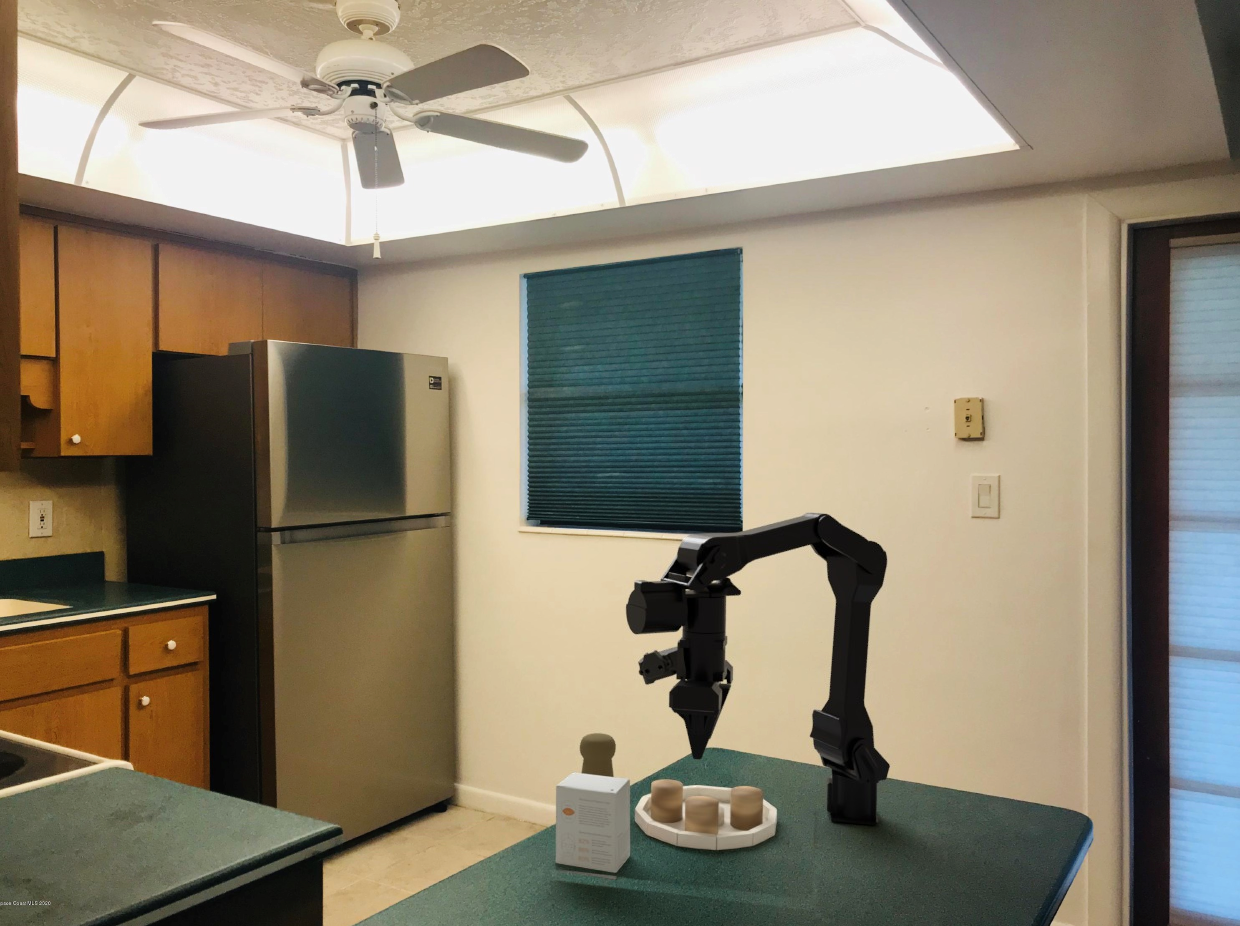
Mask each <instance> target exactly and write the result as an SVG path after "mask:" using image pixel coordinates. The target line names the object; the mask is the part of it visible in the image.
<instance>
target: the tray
mask: <svg viewBox="0 0 1240 926" xmlns="http://www.w3.org/2000/svg"><path fill="white" fill-rule="evenodd" d="M731 789H732V788H731V787H722V786H710V785H696V784H694V785H683V816H682V820H680V821H678V822H674V823H662V822H657V821H655V820H653V819H652V818H651V792H650V793H648V794H645V795H643V796H641V798H640V800H639V801H638V803H637V805H636V807H635V808H634V821H635V823H636V824H637V826H639V828H640V829H641V830H642V831H643V832H644V834H645V835H647V836H648V837H652V838H655V839H657V840H660V841H661V842H665V843H667V844H669V845H670V844H671V845H673V846H677V847H683V848H691V849H700V850H712V851H719V850H730V849H732V850H733V849H740V848H741V849H742V848H747V847H753V846H756V845H758V844H760V843H763V842H765V841H767V840H768V839H769V838H772V837H774V836H775V835H776V830H777V822H778V810H777V808H776V807H775V806H773V804H770V803H769V802H768V801H767V800H765V799H764V798H763V824H761V825H759V826H757V827H755V828H753V829H751V830H748V831H743V830H738V829H735V828H733V827H732V826H731V825H730V799H731ZM693 796H706V797H711V798H714V799H716V800H718V802H719V818H718V834H708V833H698V832H688V831H685V800H686V799H687V798H689V797H693Z"/></svg>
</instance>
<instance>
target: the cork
mask: <svg viewBox="0 0 1240 926" xmlns="http://www.w3.org/2000/svg"><path fill="white" fill-rule="evenodd" d="M616 746H617V744H616V741H615V739H614V738H613V736H612V735H609V734H607V733H601V732H599V733H597V732H596V733H595V732H593V733H588V734H586V735H584V736H583V737H582V739H581V740H580V743H579V753H580V755H581V757H582V758H583V760H582V766H581V772H580V773H582V774H591V775H599V776H608V777H615V776H614V767H613V758H614V756H615V753H616V751H617V749H616V748H617V747H616Z"/></svg>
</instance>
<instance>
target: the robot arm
mask: <svg viewBox="0 0 1240 926" xmlns="http://www.w3.org/2000/svg"><path fill="white" fill-rule="evenodd" d="M808 546H810V547H811V548H812V550H813V552H814V553H815V554H816V556H818V557H820V558H821V559H822V560H823V561H825V562H826V572H827V573H826V574H827V581H828V583H829V585H830V588H831V590H832V592H833V595H834V598H835V609H834V620H833V621H834V623H833V636H832V637H833V638H832V651H831V652H832V653H831V662H830V663H831V664H830V679H829V693H828V699H827V701H826V703H825V704H824V705H823V707H822V708H821V710H820V709H813V711H812V714H811V715H812V716H811V717H812V718H811V719H812V727H811V732H810V734H809V737H810V738H812V739H813V740H812V742H813V743H812V744H813V748H814V750H816V752H817V754H818V755H819V756H820V759H821V764H822V766H824V767H826V768H827V769H831V777H829V778H827V779H826V783H827V785H826V812H827V813H830V816H829V820H830V821H831V822H837V823H850V824H859V825H860V824H861V825H869V826H878V825H879V819H878V812H877V809H878V784H879V783H880V781H885V780H887V778H888V775H889V771H890V767H891V765H890V763H889V762H888V761H887V760H886V759H885V758H884V757H883V754H881V753H880V752H879V751H878V750H877V749H876V747H875V738H874V736H875V735H874V725H873V722H872V720H871V717H870V716H869V713H868V710H867V708H866V705H865V698H866V697H865V695H866V680H867V679H866V678H867V668H868V667H867V666H868V655H869V653H868V652H869V637H870V625H871V624H870V623H871V611H872V610H871V609H872V603H873V601H874V600H875V598H876V597H877V595H878V593H879V592H880V591H881V589H882V588H883V585H884V582H885V576H886V571H887V567H888V555H887V551H886V550H884V548H883V547H882V546H881V544H879V542H876V541H873V540H869V539H867V538H866V537H865V536H863V535H862V534H860V533H858V532H856V531H854V530H852V529H851V528H849V527H847V526H846V525H844V524H842V523H841V522H839V521H838V520H837V519H836V518H835V517H833V516H832V515H830V514H828V513H822V512H821V513H820V512H805V513H804V514H802V515H801V516H796V517H793V518H789V519H785V520H781V521H777V522H773V523H770V524H769V523H768V524H765V525H762V526H758V527H754V528H750V529H745V530H743V531H737V532H708V533H707V532H705V533H692V534H689V535H687V536H684V538H683V539H681V542H680V544H679V546H678V548H677V553H676V555H675V557H674V559H673V560H672V562H671V563H670V564H669V566H668V568H667V569H666V571H665V572H664V574H663V575H662V577H661V578H660V580H651V581H648V580H645V579H641V580H639V579H638V580H634V585H633V588H634V589H633V590H632V591H631V592H630V594H629V596H628V599H627V603H626V605H625V615H626V616H625V617H626V621H627V625H628V627H629V630H630V631H631V633H632V634H634V635H647V634H649V635H650V634H663V633H664V634H665V633H677V632H678V631H680V629H681V628H682V630H681V631H682V636H681V637H680V638H679V640H678V641H677V646H674V647H673V646H672V647H669V648H666V649H663V650H660V651H658V649H654V650H653V651H652V652H645V653H644V654H643V657H642V658H640V660H639V661H637V662H638V663H637V664H638V666H639V669H638V674H639V675H640V676H642V679H643V682H644V684H645V685H646V686H647V685H648V686H649V685H652V684H654V683H656V681H660V680H663V679H666V678H669V677H673V676H675V677H676V678H675V679H676V680H679V681H678V682H676V683H675V685H673V686H672V688H671V689H670V691H669V692H668V708H670V709H671V710H672V712H673V713H674V714H677V715H678V716H679V717H680V718H681V719H682V720H683V722H684V725H685V729H686V733H687V734H686V735H687V737H688V743H689V747H690V751H691V756H692V758H693V760H702V759H703V756H704V754H705V751H706V749H707V747H708V743H709V740H711V738H712V736H713V733H714V731H715V729H716V727H717V723H718V721H719V718H720V717H721V714H722V710H723V709H724V706H725V703H726V701H727V698H728V696H729V693H730V690H731V688H732V683H733V680H734V667H733V665H732V664H731V663H730V662H729V661H728V660H726V646H728V645H727V644H728V635H727V634H726V633H727V631H726V630H727V597H729V596H730V597H736V596H738V597H739V596H741V595H742V590H740V588H739V587H737V586H736V585H735V584H734V582H732V580H731V578H730V576H732V575H735V574H736V573H738V572H740V571H742V570H743V569H744V568H745V567H746V566H747V565H748V564H750V563H752V562H754V561H756V560H759V559H763V558H767V557H770V556H774V555H777V554H782V553H785V552H788V551H789V552H790V551H792V550H796V549H799V548H804V547H808ZM724 681H726V683H724Z"/></svg>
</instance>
